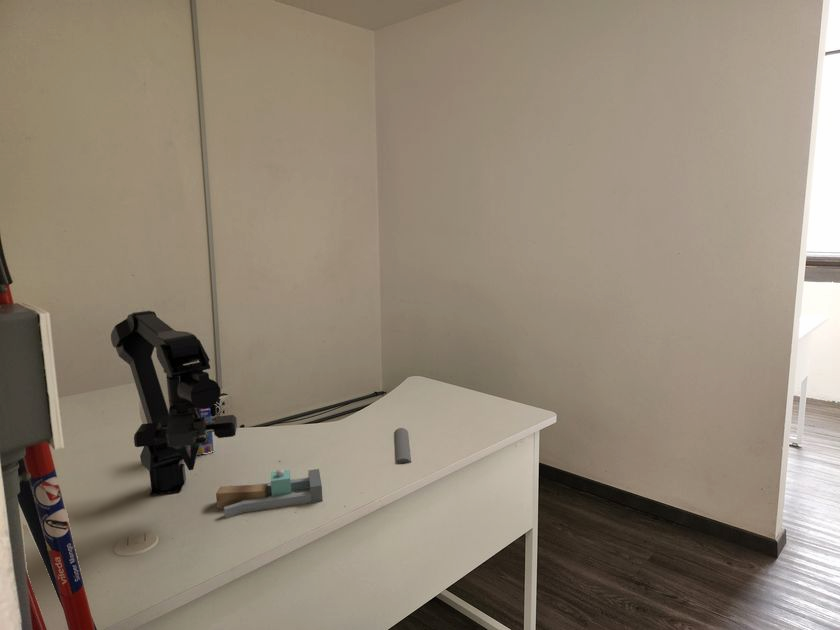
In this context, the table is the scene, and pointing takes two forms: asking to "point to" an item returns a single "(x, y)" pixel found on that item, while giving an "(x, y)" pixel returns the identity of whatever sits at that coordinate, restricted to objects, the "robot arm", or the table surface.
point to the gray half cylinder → (402, 446)
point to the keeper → (280, 482)
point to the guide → (282, 496)
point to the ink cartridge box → (208, 444)
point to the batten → (240, 494)
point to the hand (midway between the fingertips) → (191, 469)
